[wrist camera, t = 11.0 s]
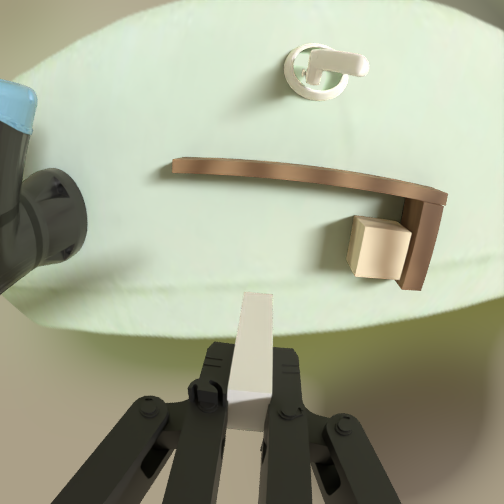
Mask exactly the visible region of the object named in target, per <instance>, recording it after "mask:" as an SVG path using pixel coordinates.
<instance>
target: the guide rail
mask: <svg viewBox="0 0 504 504" xmlns="http://www.w3.org/2000/svg"><path fill="white" fill-rule="evenodd" d="M172 173H193V174H216V175H233V176H247V177H260V178H272V179H282V180H292V181H301V182H310V183H318V184H326V185H334V186H341V187H348V188H355V189H361V190H367V191H374V192H379V193H385V194H391V195H396V196H402V197H405V202H404V208H403V213H402V218H401V223H400V224H401V225H402V226H403V227H405V228H406V229H407V230H409V231H410V232H411V233H412V234H411V238H410V242H409V246H408V250H407V254H406V258H405V262H404V266H403V269H402V273H401V276H400V280H395V281H396V282H397V284H398V285H399V286H400V288H401V289H402V290H418V291H421V289H422V286H423V283H424V280H425V277H426V274H427V270H428V267H429V264H430V260H431V257H432V253H433V250H434V246H435V242H436V238H437V234H438V230H439V226H440V221H441V217H442V212H443V207H444V206H442V205H445V206H446V201H447V196H448V194H447V193H445V192H442V191H440V190H437V189H435V188H432V187H428V186H423V185H419V184H415V183H410V182H405V181H401V180H396V179H391V178H386V177H380V176H375V175H369V174H363V173H357V172H351V171H345V170H338V169H331V168H324V167H316V166H308V165H300V164H290V163H280V162H270V161H257V160H243V159H226V158H200V157H182V158H177V159H173V161H172ZM440 204H441V205H440Z"/></svg>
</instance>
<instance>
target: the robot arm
mask: <svg viewBox="0 0 504 504" xmlns="http://www.w3.org/2000/svg"><path fill="white" fill-rule="evenodd" d="M36 107H37V95H36V93H35V91H34V90H33V89H32V88H30V87H27V86H25V85H21V84H18V83H14V82H11V81H7V80H2V79H0V294H2V293H3V292H4V291H5V290H7V289H8V288H9V287H11V286H12V285H13V284H14V283H16V282H17V281H18V280H20V279H21V278H22V277H24V276H25V275H26V274H28V273H29V272H30V271H32V270H33V269H35V268H36V267H38V266H44V265H50V264H56V263H61V262H64V261H66V260H68V259H69V258H71V257H72V256H74V255H75V254H76V253H77V252H78V251H79V250H80V249H81V247H82V245H83V243H84V241H85V237H86V233H87V213H86V207H85V203H84V200H83V197H82V194H81V192H80V190H79V188H78V187H77V185H76V183H75V182H74V181H73V179H72V178H71V177H70V176H69V175H68V174H66V173H65V172H63V171H62V170H59V169H56V168H48V169H44V170H40V171H37V172H35V173H33V174H32V175H30V176H29V177H28V178H27V179H26V180H24V181H23V182H22V177H23V171H24V164H25V158H26V153H27V148H28V143H29V138H30V135H32V132H33V129H32V125H33V120H34V116H35V111H36ZM188 395H189V399H188V400H185V401H182V402H176V403H165V402H164V401H163V400H161V399H160V398H159V397H155V396H144V397H141V398H139V399H137V400H136V401H135V402H134V403H133V404H132V406H131V407H130V408H129V409H128V410H127V412H126V413H125V414H124V415H123V417H122V418H121V419H120V420H119V421H118V423H117V424H116V425H115V426H114V427H113V429H112V430H111V431H110V432H109V434H108V435H107V436H106V437H105V439H104V440H103V441H102V442H101V443H100V445H99V446H98V447H97V448H96V449H95V451H94V452H93V453H92V454H91V456H90V457H89V458H88V459H87V460H86V462H85V463H84V464H83V465H82V466H81V468H80V469H79V470H78V471H77V473H76V474H75V475H74V476H73V477H72V479H71V480H70V481H69V482H68V483H67V485H66V486H65V487H64V488H63V489H62V491H61V492H60V493H59V494H58V496H57V497H56V498H55V499H54V500H53V502H52V503H51V504H140V502H141V501H142V499H143V498H144V496H145V494H146V493H147V492H148V490H149V489H150V487H151V485H152V484H153V482H154V481H155V479H156V478H157V476H158V475H159V473H160V471H161V470H162V468H163V467H164V465H165V464H166V462H167V460H168V459H169V457H170V456H171V454H172V452H173V451H174V449H176V453H175V456H174V460H173V464H172V468H171V471H170V475H169V479H168V483H167V487H166V491H165V494H164V498H163V502H162V504H216V500H217V493H218V487H219V480H220V473H221V467H222V459H223V453H224V446H225V437H226V435H225V434H226V428H228V429H237V430H247V431H259V432H263V431H264V438H263V442H262V446H261V450H260V451H262V453H261V471H260V485H259V500H258V504H312V487H311V469H310V468H311V467H310V464H311V466H312V469H313V472H314V475H315V477H316V480H317V483H318V486H319V488H320V491H321V494H322V496H323V499H324V502H325V504H401V502H400V500H399V498H398V496H397V494H396V492H395V490H394V488H393V486H392V484H391V482H390V480H389V478H388V476H387V474H386V472H385V470H384V468H383V466H382V464H381V462H380V460H379V458H378V457H377V455H376V453H375V451H374V449H373V447H372V445H371V443H370V441H369V439H368V437H367V436H366V434H365V432H364V430H363V428H362V426H361V424H360V422H359V421H358V420H357V419H356V418H355V417H353V416H352V415H349V414H345V413H341V414H336V415H334V416H332V417H331V418H327V417H323V416H319V415H316V414H313V413H312V412H310V411H309V410H308V409H307V408H306V407H305V406H304V404H303V401H302V393H301V380H300V370H299V359H298V355H297V354H296V352H295V351H294V349H292V348H291V349H290V348H277V347H273V294H262V293H252V292H244V296H243V302H242V307H241V313H240V319H239V325H238V331H237V337H236V343H235V344H229V343H221V342H214V343H213V344H212V345H211V346H210V347H209V348H208V349H207V353H206V357H205V360H204V364H203V368H202V371H201V374H200V378H199V379H196V380H194V381H193V382H191V383H190V385H189V387H188Z"/></svg>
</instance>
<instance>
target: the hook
mask: <svg viewBox="0 0 504 504" xmlns="http://www.w3.org/2000/svg"><path fill="white" fill-rule="evenodd" d="M313 47H317V48H322V49H315V50H311V52H310V56H309V62H308V68H307V71H305V70H304V69H303V70H302V77H303V76H304V75H306V77H305V79H306V83H308V84H310V85H319V83H320V80H321V76H322V71H334V72H339V73H343V75H342V79H341V80H340V82H339V83H338V84H337V85H336V86H335V87H334V88H332V89H329V90H325V91H318V90H313V89H310V88H308V87H306V86H305V85H303V84H302V83H301V82H300V81H299V80H298V79H297V77H296V75H295V73H294V68H293V64H294V60H295V58H296V56H297V55H298V54H299V53H300V52H301V51H302V50H304V49H307V48H313ZM368 71H369V62H368V60H367V59H366V58H365V57H364V56H363V55H361V54H356V53H350V52H343V51H335V50H334V49H332V48H330V47H328V46H326V45H322V44H317V43H309V44H304V45H301V46H299V47H297V48H295V49H294V50H292V51H291V52H290V53H289V55H288V56H287V58H286V60H285V63H284V74H285V78H286V80H287V82H288V84H289V86H290V87H291V88H292V89H293V90H294V91H295V92H296V93H298V94H299V95H300V96H302V97H304V98H307V99H310V100H315V101H326V100H330V99H332V98H335V97H337V96H338V95H339V94H341V93H342V91H343V90H344V89H345V87H346V85H347V82H348V75H352V76H357V77H363V76H365V75H367V73H368Z"/></svg>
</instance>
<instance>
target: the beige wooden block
mask: <svg viewBox="0 0 504 504" xmlns="http://www.w3.org/2000/svg"><path fill="white" fill-rule="evenodd" d="M411 234H412V233H411V232H410V231H409V230H407V229H406V228H405V227H403V226H402V225H401V224H400V223H398V222H397V221H393V220H386V219H379V218H372V217H364V216H357V215H354V219H353V225H352V230H351V236H350V241H349V247H348V252H347V257H346V261H347V263H348V264H349V266H350V268H351V270H352V272H353V274H354V276H355V277H368V278H381V279H394V280H400V276H401V273H402V269H403V266H404V262H405V258H406V254H407V250H408V246H409V242H410V238H411Z"/></svg>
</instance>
